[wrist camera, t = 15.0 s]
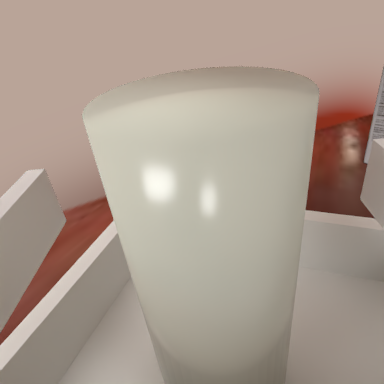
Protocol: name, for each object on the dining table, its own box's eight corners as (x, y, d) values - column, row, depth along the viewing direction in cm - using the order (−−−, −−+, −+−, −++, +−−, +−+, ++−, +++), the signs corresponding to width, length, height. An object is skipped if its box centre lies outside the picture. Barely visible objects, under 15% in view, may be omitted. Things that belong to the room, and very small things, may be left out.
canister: (291, 333, 17) (324, 64, 9) (274, 465, 12) (309, 151, 5) (190, 306, 19) (150, 68, 12) (144, 410, 15) (26, 132, 7)
